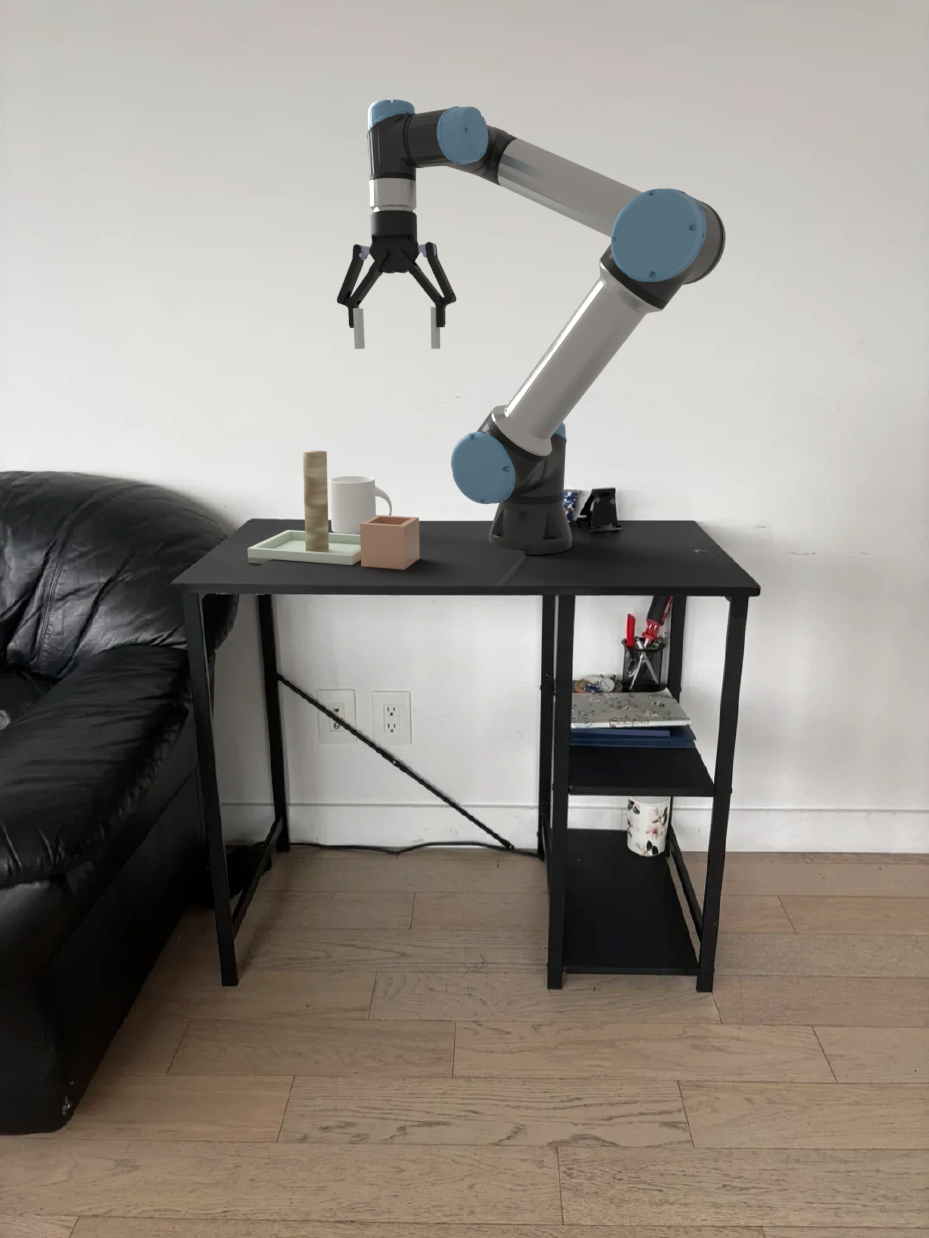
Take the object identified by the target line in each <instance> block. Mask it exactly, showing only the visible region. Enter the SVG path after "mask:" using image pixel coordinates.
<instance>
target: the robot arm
mask: <svg viewBox="0 0 929 1238" xmlns="http://www.w3.org/2000/svg"><path fill="white" fill-rule="evenodd" d="M366 138H367V150H368V151H367V152H368V162H369V163H368V164H369V165H368V166H369V167H368V168H369V183H368V184H369V206H370V209H371V210H373V212H372V213H371V214H370V238H371V243H370V245H369V246H366V245H363V244H362V245H361V244H357V243H355V244H353V246H352V259H351V261H350V263H349V267H348V269H347V271H346V274H345V277H344V279H343V282H342V284H341V287H340V289H339V292H338V295H337V297H336V302H337V304H338V305H342V306H345V307H346V309H347V313H348V314H347V315H348V327H349V328H350V329H353V335H354V336H353V338H354V341H353V342H354V349H355V350H362V349H364V350H365V348H366V344H365V321H364V319H365V318H364V308H361V307H360V305H361V304H362V302H363V301H364V299H365V298H366V296H367V295H368V293H369V292H370V290H372V288H373V286H374V285H375V283H376V282H377V281H378V279H379V278H380V277H381V276H382V275H383V274H390V275H391V274H394V273H399V274H407V273H409V274H410V275H411V276H412V277H413V278H414V280H415V281H416V282H417V284H419V286H420V287H421V288H422V290H423V291H424V293H426V295H427V297H429V299H430V300H431V301H432V302H433V304H434V306H435V307H434V306H432V307H431V306H430V338H431V339H430V343H431V345H430V347H431V348H430V349H431V350H436V349H439V350H440V349H441V328H445V327H446V319H447V318H446V308H447V306H448V305H451V304H453V303H455V302H456V301H457V296H456V294H455V291H454V290H453V287H452V285H451V283H450V281H449V279H448V277H447V275H446V272H445V270H444V268H443V266H442V263H441V261H440V259H439V257H438V249H437V248H438V247H437V244H436V243H435V242H431V241H427V242H426V243H424V244H419V242H418V215H417V214H416V212H414V211H415V210H416V209H417V169H424V168H432V167H434V168H435V167H448V168H451V169H454V170H457V171H461V172H465V173H468V174H471V175H474V176H477V177H479V178H482V179H484V180H486V181H488V182H491V183H493V184H495V185H496V186H499V187H502V188H504V189H506V190H509V191H510V192H512V193H515V194H516V195H519V196H521V197H524V198H525V199H528V200H530V201H531V202H533V203H537V204H539V205H540V206H543V207H544V208H547V209H550V210H551V211H553V212H555V213H558V214H560V215H562V216H564V217H567V218H569V220H570V219H571V220H572V221H575V222H576V223H579V224H581V225H583V226H585V227H588V228H590V229H591V230H594V231H596V232H598V233H600V234H603V235H604V236H607V237H609V238H610V244H609V245H608V247H607V248H606V250H605V252H604V253H603V254H602V256H600V258H599V260H598V265H599V275H600V276H599V277H598V279H597V280H596V281H595V283H594V285H593V286H592V288H591V289H590V291H589V292H588V293H587V294H586V296H585V297H584V299H583V300H582V301H581V303H580V304H579V306H577V309H575V311H574V313H573V314H572V315H571V316H570V318H568V319H569V320H567V322H566V323H565V325H564V326H563V328H562V329H561V330H560V332H559V333H558V335H557V336H556V337H555V338H554V340H553V342H552V343H551V345H550V346H549V347H548V348H547V350H546V351H545V353H544V354H543V355H542V357H541V358H540V359H539V361H538V362H537V364H536V365H535V366H534V367H533V370H532V371H531V372H530V373H529V375H528V376H527V377H526V379H525V380H524V382H523V383H522V384H521V386H520V387H519V389H518V390H517V392H515V394H514V395H513V397H512V398H511V400H510V401H509V403H508V404H502V405H496V406H495V407H493V408H492V409H491V411H490V412H489V414H488V415H487V417H486V418H485V419H484V421H483V422H482V423H481V424H480V426H479V428H478V429H477V430H476V431H473V432H470V433H468V434H467V435H464V437H462V438H461V439H460V440H459V441H458V442H456V444H455V446H454V448H453V450H452V452H451V459H450V467H451V472H452V477H453V481H454V483H455V485H456V486H457V488H458V489H459V491H460V492H461V494H463V495H464V496H465V497H466V498H467V499H469V500H470V501H472V502H474V503H477V504H480V505H481V504H482V505H492V504H494V505H495V504H498V506H497V509H496V511H495V514H494V517H493V521H492V524H491V526H490V528H489V529H490V530H489V532H488V541H489V543H490V544H491V545H494V546H496V547H500V548H504V549H510V550H517V551H518V550H519V551H525V552H523V555H531V556H532V555H533V556H534V555H549V554H558V553H561V552H565V551H567V550H569V549H571V547H572V541H573V540H572V539H573V536H572V535H573V534H572V530H571V526H570V523H569V521H568V516H567V513H566V509H565V505H564V495H565V494H564V492H565V475H566V474H565V472H566V471H565V469H566V448H567V446H566V445H567V441H568V440H567V436H566V434H567V433H566V431H567V430H566V424H565V423H564V421H565V420H566V418H567V417H568V416H569V414H570V413H571V412H572V411H573V409H574V408H575V407H576V405H578V403H579V402H580V400H581V399H582V398H583V396H584V395H585V394H586V393H587V391H588V390H589V388H590V387H591V386H592V385H593V384H594V382H595V381H596V379H598V377H599V376H600V374H601V373H602V372H603V370H604V369H605V368H606V367H607V366H608V365H609V363H610V361H611V360H612V359H613V358H614V356H615V355H616V354H617V352H619V350H620V349H621V347H622V346H623V345H624V343H625V342H626V341H627V340H628V338H629V337H630V336H631V334H632V333H633V332H634V330H636V328H637V326H639V324H640V323H641V322H642V320H643V319H644V317H645V316H646V315H647V314H650V313H657V312H662V311H663V310H664V309H665V308H666V307H667V305H668V304H669V303H670V302H671V300H672V299H673V298H674V296H675V295H676V294H677V293H678V291H679V290H680V289H681V287H682V286H685V285H686V286H687V285H691V284H695V283H697V282H700V281H701V280H703V279H705V278H706V277H708V275H710V274H711V273H712V272H713V270H714V269H715V268H716V267H717V265H718V264H719V262H720V261H721V259H722V257H723V254H724V251H725V247H726V239H727V237H726V235H727V234H726V230H725V226H724V223H723V220H722V218H721V216H720V214H719V212H717V211H716V210H715V209H714V208H713V207H712V206H711V205H710V204H708V203H705V202H704V201H701V200H699V199H697V198H695V197H694V196H691V195H689V194H688V193H686V192H685V191H684V190H680V189H676V188H675V189H674V188H652V189H649V190H646V191H644V192H643V191H640V190H638V189H635V188H634V187H632V186H629V185H627V184H625V183H622V182H620V181H617V180H616V179H612V178H611V177H609V176H606V175H604V174H602V173H599V172H597V171H595V170H593V169H590V168H588V167H585V166H583V165H580V164H579V163H577V162H574V161H572V160H569V159H567V158H564V157H563V156H560V155H558V154H555V153H554V152H551V151H549V150H547V149H544V148H542V147H540V146H537V145H535V144H534V143H531V142H528V141H526V140H523V139H522V138H518V137H516V136H514V135H512V134H510V133H508V132H507V131H505V130H503V129H500V128H498V127H494V126H492V125H489V124H487V121H486V120H485V117H484V116H482V112H481V110H479V109H478V107H474V106H458V105H457V106H452V107H449V108H443V109H438V110H437V109H436V110H431V111H426V112H418V113H416V109H415V107H414V104H412V103H411V102H409V101H407V100H404V99H381V100H377V101H374V102H373V103H371V104H370V105H369V107H368V109H367V131H366ZM420 254H422V256H423V257H424V258H426V261H427V262H428V263H427V264H428V265H429V267H430V270H431V271H432V273H433V276H434V278H435V280H436V282H437V284H438V286H439V288H440V291H441V293H442V294H441V293H440V291H438V289H437V288H436V287H435V286H434V284H433V283H432V282H431V280H430V279H429V278H428V276H427V275H426V274H425V273H424V272H423V270H422V268H421V267H420V266H419V264H418V263H417V262H416V260H417V259H418V257H419V256H420ZM369 255H370V257H371V258H372V260H374V261H373V262H372V264H371V265H370V267H369V269H368V271H367V273H365V276H364V277H363V279H362V280H361V281H360V283H359V284H358V286H357V288H356V289H355V287H356V284H357V282H358V279H359V277H360V274H361V271H362V269H363V267H364V264H365V260H367V258H368V257H369ZM442 295H443V296H442Z"/></svg>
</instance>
